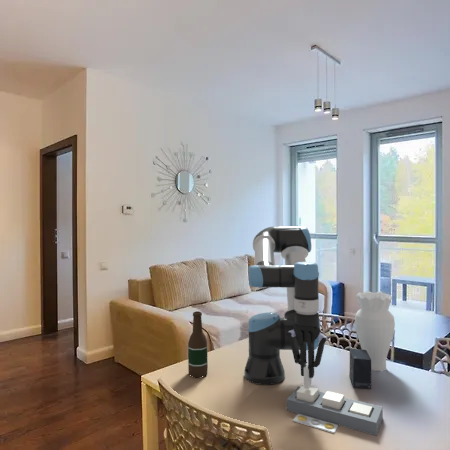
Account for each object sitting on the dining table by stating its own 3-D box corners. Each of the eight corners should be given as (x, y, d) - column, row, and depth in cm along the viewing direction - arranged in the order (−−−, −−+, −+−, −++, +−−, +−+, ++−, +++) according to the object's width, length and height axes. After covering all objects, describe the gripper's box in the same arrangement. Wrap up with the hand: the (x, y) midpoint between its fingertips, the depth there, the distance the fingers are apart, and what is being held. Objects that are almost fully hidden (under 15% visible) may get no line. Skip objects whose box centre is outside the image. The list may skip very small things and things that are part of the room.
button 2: (322, 405, 109) (322, 397, 109) (327, 398, 114) (327, 390, 114) (339, 410, 106) (339, 402, 106) (344, 402, 111) (344, 394, 111)
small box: (372, 389, 126) (372, 359, 126) (352, 388, 127) (352, 358, 127) (367, 376, 136) (366, 348, 136) (348, 375, 138) (348, 347, 138)
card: (293, 421, 107) (293, 419, 107) (298, 415, 110) (298, 413, 110) (334, 433, 100) (334, 431, 100) (338, 426, 103) (338, 424, 103)
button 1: (296, 399, 113) (296, 391, 113) (302, 392, 118) (302, 385, 118) (313, 403, 111) (313, 395, 111) (318, 396, 115) (318, 388, 115)
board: (286, 410, 113) (286, 399, 113) (298, 397, 121) (298, 386, 121) (376, 435, 99) (376, 422, 99) (382, 418, 107) (382, 406, 107)
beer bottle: (184, 376, 139) (183, 313, 139) (193, 368, 146) (192, 309, 146) (202, 379, 136) (201, 315, 136) (211, 371, 143) (210, 310, 143)
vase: (375, 377, 135) (374, 299, 135) (347, 363, 149) (346, 292, 149) (404, 370, 141) (403, 295, 141) (374, 358, 155) (373, 289, 154)
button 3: (349, 418, 105) (349, 409, 105) (354, 410, 109) (353, 402, 109) (368, 423, 102) (368, 414, 102) (372, 414, 106) (372, 406, 106)
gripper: (282, 311, 114) (283, 386, 114) (323, 317, 107) (324, 396, 108) (291, 307, 121) (292, 378, 121) (330, 311, 114) (331, 387, 114)
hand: (307, 386), depth 114 cm, fingers closed
